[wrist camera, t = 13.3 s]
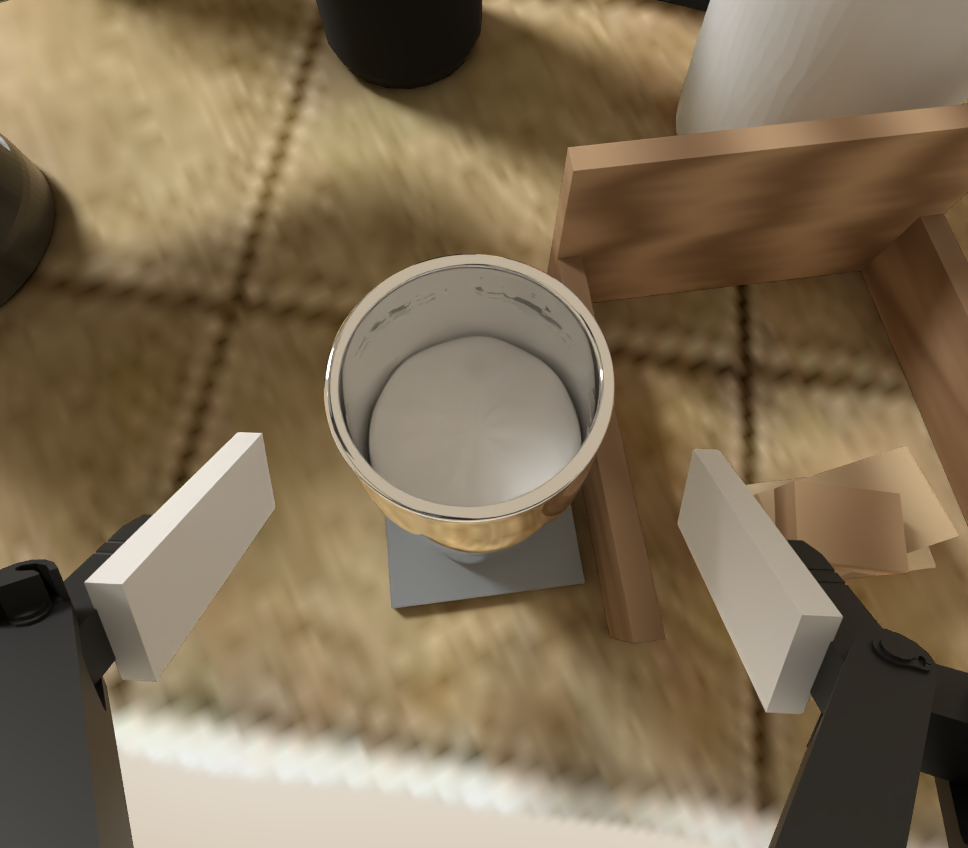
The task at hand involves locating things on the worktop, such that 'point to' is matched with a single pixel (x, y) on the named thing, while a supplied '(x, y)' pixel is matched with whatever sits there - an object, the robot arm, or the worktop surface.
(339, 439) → the beer glass
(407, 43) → the coffee jar
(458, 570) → the coaster
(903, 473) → the offcut stack
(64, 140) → the worktop surface
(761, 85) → the utensil holder
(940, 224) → the open wooden frame
